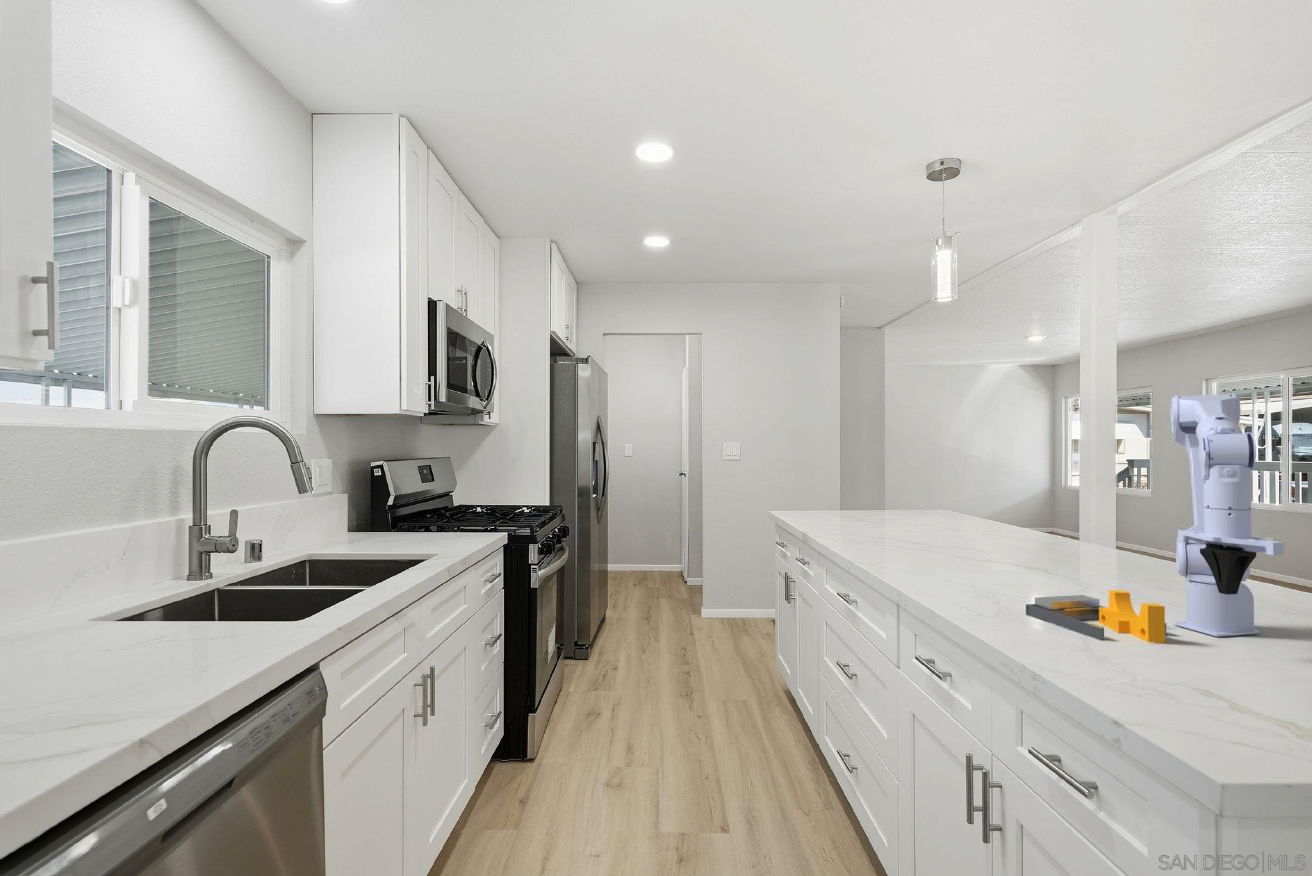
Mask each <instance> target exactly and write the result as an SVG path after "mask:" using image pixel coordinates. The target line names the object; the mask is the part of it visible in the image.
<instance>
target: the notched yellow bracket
mask: <svg viewBox="0 0 1312 876" xmlns="http://www.w3.org/2000/svg"><path fill="white" fill-rule="evenodd" d="M1165 609H1166V607H1165V605H1161V604H1159V603H1148V602H1147V603H1145V602H1144V603H1143V602H1141V603H1140V610H1139V613H1138V615H1137V613H1136V611H1135V610H1134V607H1133V605H1132V601H1131V593H1130V592H1128V591H1126V590H1117V589H1116V590H1111V589H1108V606H1103V607H1099V619H1098V623H1099V625H1102V624H1103V625H1102V626H1103V627H1106V626H1107V627H1108V628H1107V627H1106V628H1107V629H1109V628H1110V629H1109V630H1111V629H1112V631H1113V630H1114V631H1113V632H1116V633H1117V632H1118V634H1129V633H1130V635H1131V636H1133V635H1134V637H1135V636H1136V638H1137V637H1138V638H1137V639H1139V640H1142V641H1144V640H1145V641H1144V642H1146V643H1148V642H1156V643H1155V644H1166V636H1165V623H1166V622H1165V621H1166V617H1165V616H1166V614H1165V613H1166V612H1165V611H1166V610H1165Z"/></svg>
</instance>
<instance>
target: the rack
mask: <svg viewBox="0 0 1312 876" xmlns="http://www.w3.org/2000/svg"><path fill="white" fill-rule="evenodd" d="M1099 607H1104V605H1100V599H1098V598H1095V597H1092V596H1087V595H1084V594H1079V595H1078V594H1077V595H1076V594H1075V595H1059V596H1058V595H1057V596H1042V597H1040V596H1039V597H1034V603H1030V604H1028V603H1026V604H1025V615H1027V616H1029V615H1030V616H1029V617H1032V618H1035V619H1036V620H1037V619H1038V620H1040V619H1041V621H1044V622H1045V623H1050V624H1052V623H1053V625H1055V624H1056V625H1055V626H1058V625H1059V627H1061V626H1063V627H1062V628H1064V629H1067V628H1068V630H1071V631H1073V630H1074V631H1073V632H1076V633H1078V634H1082V633H1083V634H1082V635H1085V636H1087V635H1088V637H1090V636H1091V638H1093V637H1094V639H1096V640H1099V639H1100V641H1105V626H1103V625H1100V624H1099V625H1098V624H1095V623H1088V622H1085V621H1091V620H1090V619H1093V620H1099ZM1165 635H1167V636H1168V633H1167V622H1165Z"/></svg>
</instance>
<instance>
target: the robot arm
mask: <svg viewBox="0 0 1312 876" xmlns="http://www.w3.org/2000/svg"><path fill="white" fill-rule="evenodd" d="M1240 421H1241V401H1240V397H1239V396H1238V395H1237V394H1236V393H1235V392H1233V393H1230V394H1205V395H1203V394H1202V395H1199V394H1198V395H1182V396H1181V395H1178V394H1177V395H1174V396H1173V397H1172V398H1171V401H1170V423H1171V435H1172V436H1173V440H1174V442H1176V443H1178V444H1180V445H1183V446H1184V448H1185V451H1186V453H1187V456H1188V460H1189V470H1190V471H1189V474H1190V475H1189V476H1190V485H1191V486H1190V488H1191V489H1190V490H1191V499H1192V501H1191V502H1192V512H1193V513H1192V518H1193V525H1192V526H1191V527H1189V528H1187V529H1178V530H1177V537H1176V542H1175V543H1176V547H1175V548H1176V549H1175V564H1176V571H1177V574H1179V575H1180V576H1181V577H1184V578H1185V580H1186V581H1185V582H1186V587H1185V588H1186V589H1185V590H1186V594H1185V595H1186V621H1174V622H1173V625H1174V626H1177V627H1182V628H1185V629H1188V630H1192V631H1195V632H1199V633H1202V634H1207V635H1210V636H1214V637H1218V638H1220V637H1231V636H1244V635H1246V636H1248V635H1259V634H1260V630H1257V629H1255V606H1254V605H1255V604H1254V603H1255V600H1254V594H1253V593H1252V591H1251V589H1250V587H1248V585H1247V584H1245V583H1243V582H1246V581H1247V580H1248V579H1249V578H1250V575H1251V564H1252V562H1253V561H1254V560H1255V559H1256V558H1257V553H1259V554H1264V555H1267V556H1273V557H1274V556H1284V555H1285V550H1284V549H1285V545H1284V542H1283V541H1275V540H1270V539H1265V538H1260V537H1254V536H1252V489H1251V488H1252V482H1251V481H1252V478H1251V477H1252V476H1251V473H1252V472H1251V470H1253V469H1254V468H1255V464H1256V459H1257V445H1256V441H1255V438H1254V435H1253V433H1252V432H1251V431H1250V432H1248V431H1247V432H1244V433H1243V431H1242V429H1241V427H1240V424H1239V423H1240Z"/></svg>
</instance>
